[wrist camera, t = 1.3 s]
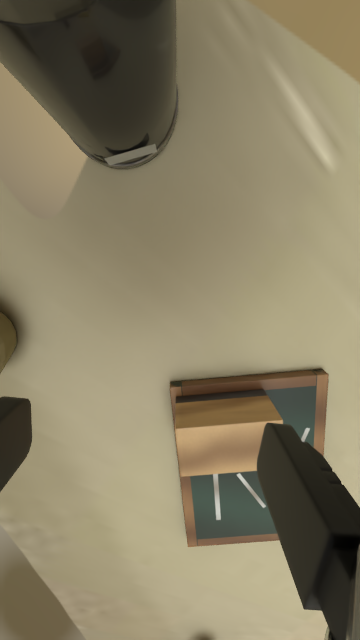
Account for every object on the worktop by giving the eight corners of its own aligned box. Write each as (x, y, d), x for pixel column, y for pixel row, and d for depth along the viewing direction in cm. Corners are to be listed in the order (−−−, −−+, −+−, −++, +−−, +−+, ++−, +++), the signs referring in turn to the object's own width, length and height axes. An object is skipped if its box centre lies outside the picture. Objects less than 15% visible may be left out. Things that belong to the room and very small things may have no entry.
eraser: (175, 396, 26) (174, 429, 21) (263, 388, 26) (283, 420, 21) (180, 437, 27) (180, 477, 23) (264, 430, 27) (282, 469, 22)
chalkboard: (169, 381, 27) (169, 387, 26) (322, 368, 27) (328, 374, 26) (187, 536, 33) (188, 547, 32) (313, 527, 32) (318, 537, 31)
